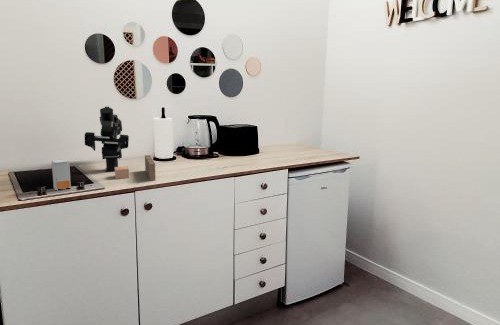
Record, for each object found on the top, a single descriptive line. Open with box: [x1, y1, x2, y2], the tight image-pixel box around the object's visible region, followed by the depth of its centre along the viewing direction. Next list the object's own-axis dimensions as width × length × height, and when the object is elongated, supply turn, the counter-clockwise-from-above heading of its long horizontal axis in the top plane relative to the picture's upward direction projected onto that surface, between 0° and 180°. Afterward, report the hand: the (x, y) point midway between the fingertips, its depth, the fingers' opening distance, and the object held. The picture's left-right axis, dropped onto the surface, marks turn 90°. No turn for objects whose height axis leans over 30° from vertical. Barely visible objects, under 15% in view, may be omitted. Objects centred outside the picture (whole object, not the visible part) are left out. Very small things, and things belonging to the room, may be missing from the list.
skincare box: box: [51, 159, 72, 191], centre depth 151 cm, size 6×4×12 cm
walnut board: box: [144, 154, 156, 181], centre depth 177 cm, size 21×2×8 cm, turn 21°
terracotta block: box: [114, 166, 130, 180], centre depth 173 cm, size 6×6×4 cm
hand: (105, 150), depth 160 cm, fingers open, 9 cm apart
